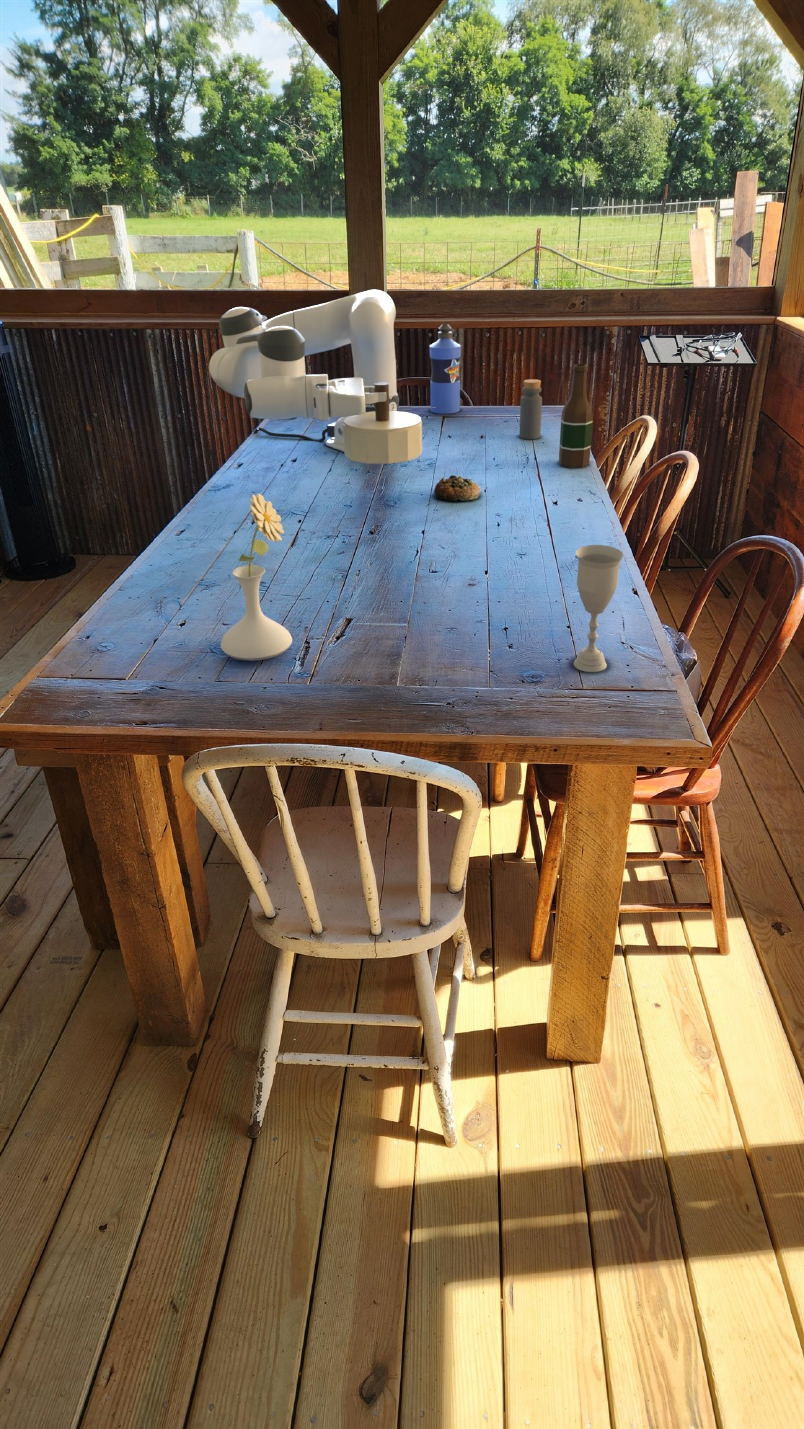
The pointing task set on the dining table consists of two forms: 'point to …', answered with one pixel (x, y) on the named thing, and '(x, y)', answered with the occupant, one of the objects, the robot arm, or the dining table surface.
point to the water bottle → (445, 373)
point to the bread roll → (456, 489)
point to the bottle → (530, 410)
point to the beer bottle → (576, 423)
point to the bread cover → (382, 434)
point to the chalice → (596, 595)
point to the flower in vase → (256, 597)
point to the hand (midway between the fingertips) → (386, 393)
